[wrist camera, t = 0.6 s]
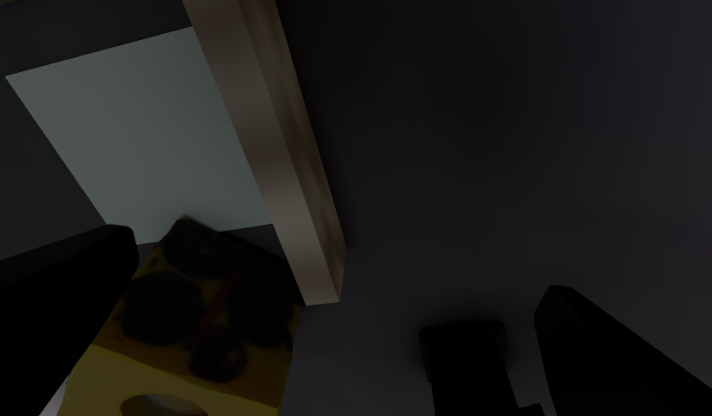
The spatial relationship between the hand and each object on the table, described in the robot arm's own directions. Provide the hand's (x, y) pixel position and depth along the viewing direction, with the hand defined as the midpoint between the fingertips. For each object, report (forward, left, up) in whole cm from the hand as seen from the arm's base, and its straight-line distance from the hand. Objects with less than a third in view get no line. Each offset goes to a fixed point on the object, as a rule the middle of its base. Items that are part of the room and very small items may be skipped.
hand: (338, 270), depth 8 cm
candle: (-11, +13, -14) cm, 22 cm away
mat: (0, +13, -14) cm, 19 cm away
